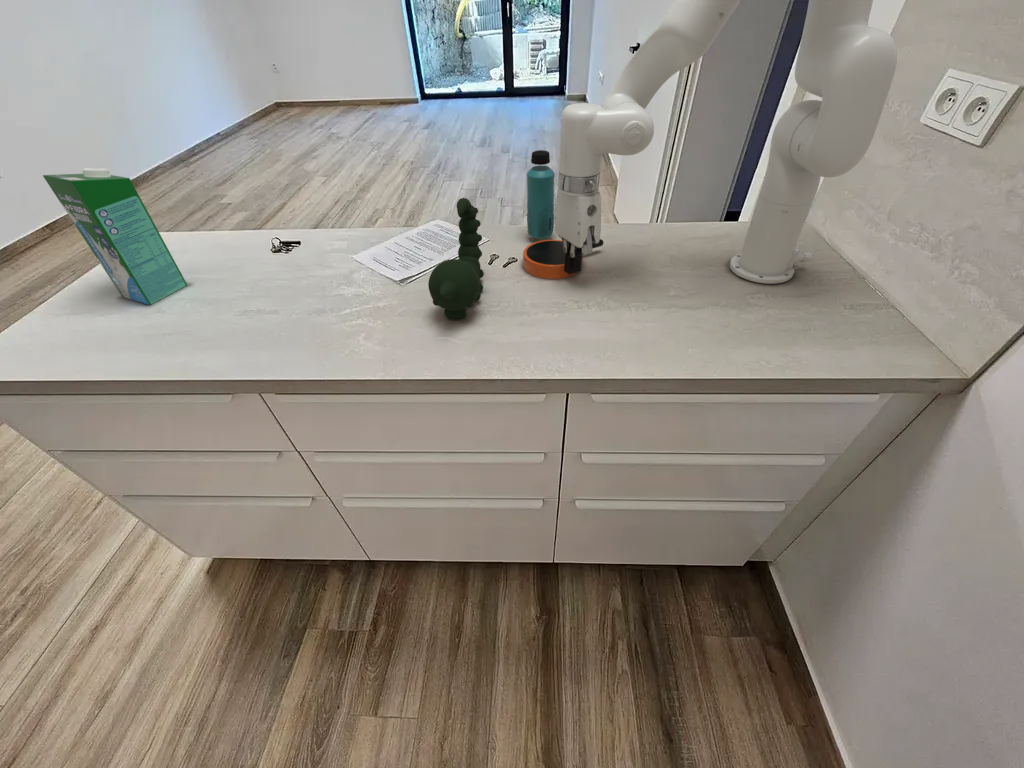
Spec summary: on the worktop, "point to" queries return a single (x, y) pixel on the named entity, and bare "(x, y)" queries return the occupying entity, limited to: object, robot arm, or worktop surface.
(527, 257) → the pan
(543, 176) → the beverage bottle
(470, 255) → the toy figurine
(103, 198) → the milk carton
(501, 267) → the worktop surface
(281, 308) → the worktop surface
